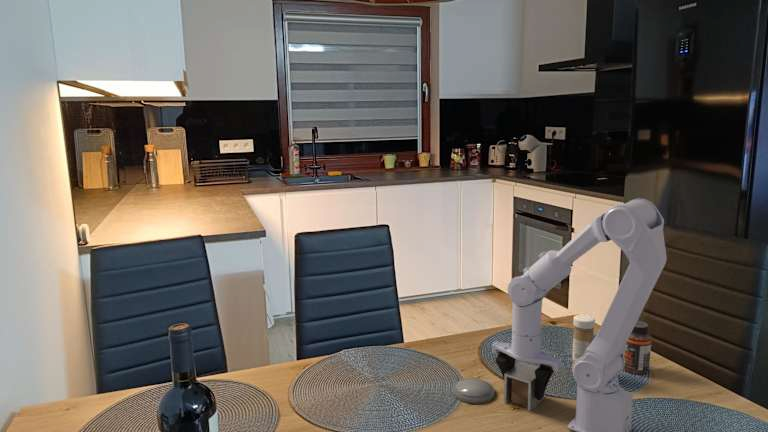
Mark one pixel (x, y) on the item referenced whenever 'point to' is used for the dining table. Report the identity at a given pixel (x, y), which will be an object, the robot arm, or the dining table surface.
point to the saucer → (473, 391)
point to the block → (519, 392)
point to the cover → (523, 374)
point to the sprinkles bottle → (582, 335)
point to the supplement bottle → (638, 350)
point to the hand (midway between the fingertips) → (524, 392)
